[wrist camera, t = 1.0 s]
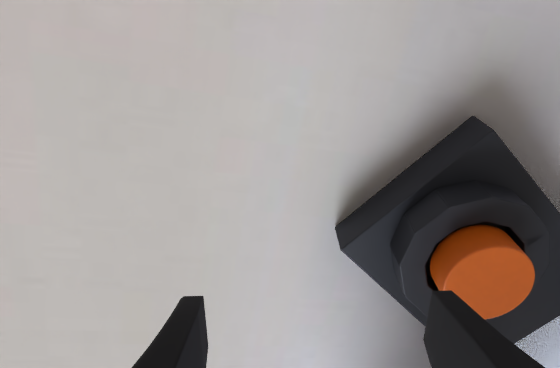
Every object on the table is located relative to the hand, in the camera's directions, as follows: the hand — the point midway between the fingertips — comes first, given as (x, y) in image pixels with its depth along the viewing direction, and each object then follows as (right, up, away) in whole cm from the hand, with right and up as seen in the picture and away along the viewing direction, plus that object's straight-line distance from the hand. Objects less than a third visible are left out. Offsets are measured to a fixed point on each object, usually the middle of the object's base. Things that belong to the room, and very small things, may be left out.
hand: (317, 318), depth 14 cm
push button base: (+9, +1, +11) cm, 14 cm away
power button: (+8, +1, +7) cm, 11 cm away
